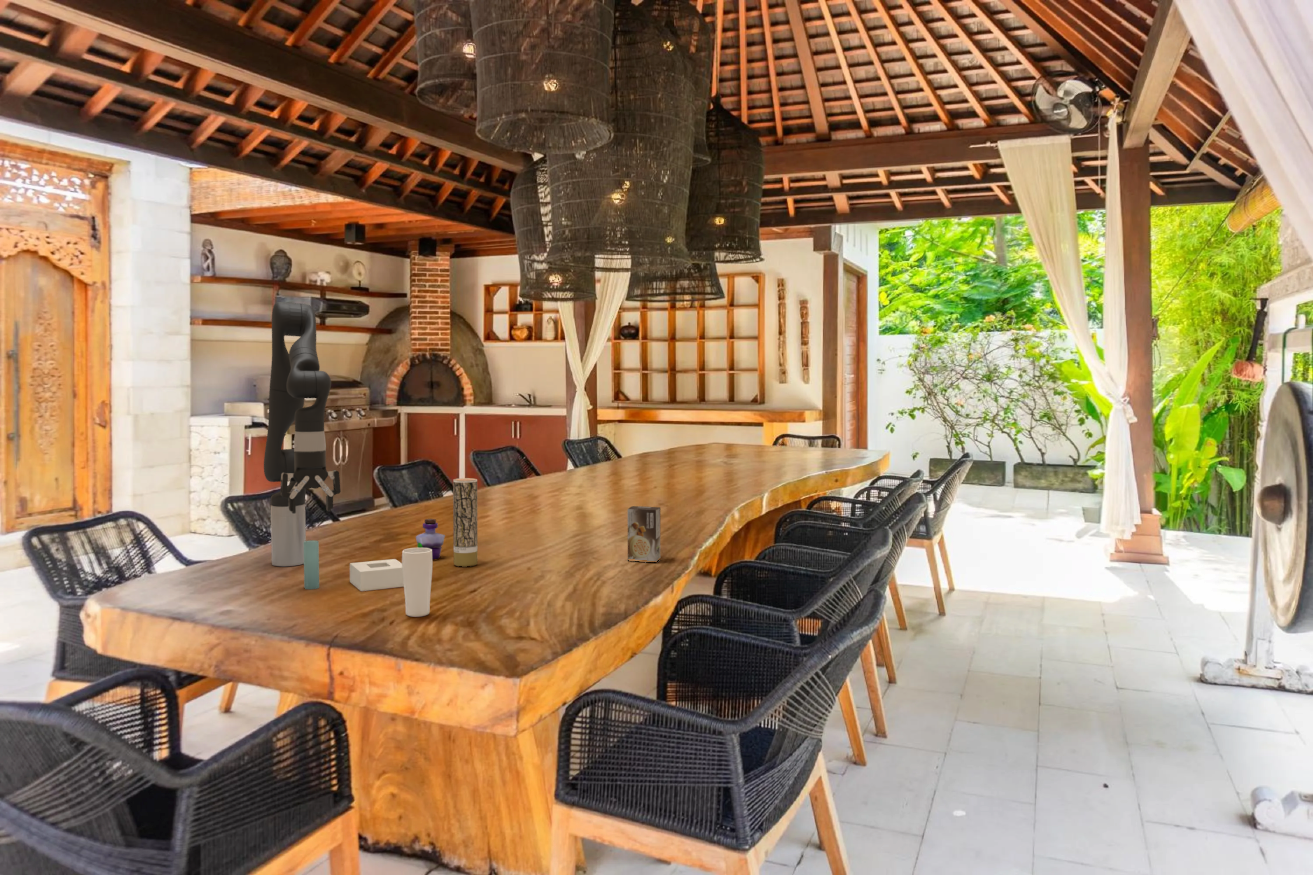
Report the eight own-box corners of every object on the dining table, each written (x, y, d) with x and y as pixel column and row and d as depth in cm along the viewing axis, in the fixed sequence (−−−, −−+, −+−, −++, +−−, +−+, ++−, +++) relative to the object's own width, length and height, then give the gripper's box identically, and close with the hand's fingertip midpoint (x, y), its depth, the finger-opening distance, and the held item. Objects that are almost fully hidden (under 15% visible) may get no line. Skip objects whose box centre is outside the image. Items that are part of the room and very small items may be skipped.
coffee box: (661, 559, 276) (662, 506, 274) (656, 563, 269) (656, 509, 268) (632, 557, 278) (632, 505, 277) (626, 561, 271) (626, 508, 270)
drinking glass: (405, 610, 213) (404, 547, 212) (434, 610, 213) (434, 547, 212) (399, 618, 206) (399, 553, 205) (430, 618, 207) (429, 552, 206)
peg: (303, 586, 235) (302, 541, 235) (317, 585, 237) (317, 539, 236) (305, 589, 232) (305, 543, 231) (320, 588, 234) (319, 542, 233)
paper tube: (471, 568, 260) (471, 481, 259) (449, 566, 262) (449, 480, 260) (481, 563, 267) (480, 478, 265) (459, 562, 268) (459, 477, 267)
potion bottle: (409, 559, 271) (409, 519, 270) (427, 554, 279) (427, 515, 278) (433, 562, 268) (433, 522, 267) (451, 557, 276) (450, 517, 275)
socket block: (349, 581, 242) (349, 563, 241) (395, 577, 248) (395, 558, 247) (360, 591, 231) (360, 571, 231) (407, 585, 238) (407, 567, 237)
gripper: (335, 447, 239) (336, 508, 240) (277, 448, 232) (278, 512, 233) (342, 449, 233) (343, 512, 234) (282, 451, 225) (284, 515, 227)
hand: (311, 511), depth 233 cm, fingers open, 8 cm apart
